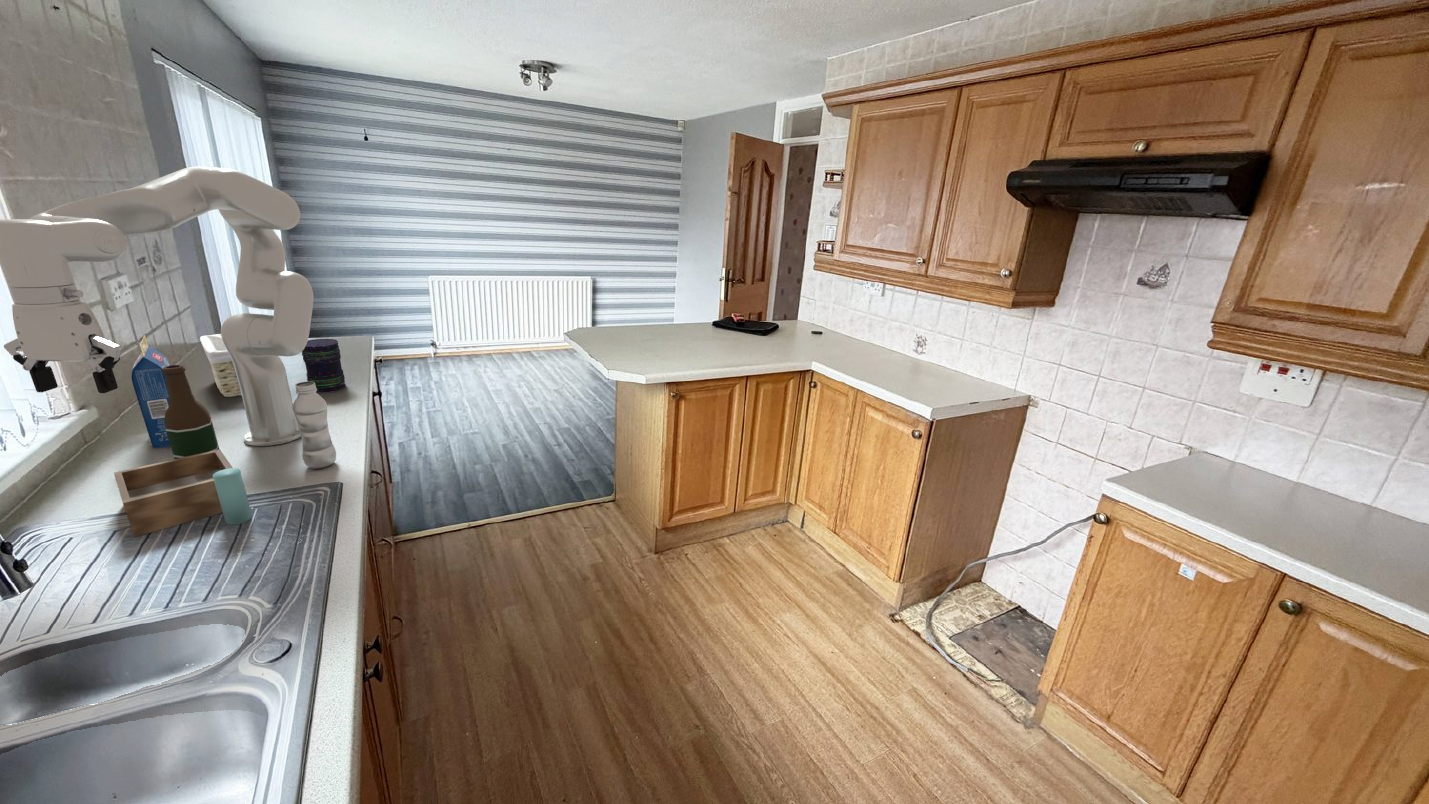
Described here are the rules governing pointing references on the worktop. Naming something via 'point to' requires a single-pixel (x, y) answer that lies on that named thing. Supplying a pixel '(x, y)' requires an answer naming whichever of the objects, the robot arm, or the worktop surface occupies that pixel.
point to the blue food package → (152, 392)
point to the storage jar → (324, 365)
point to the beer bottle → (186, 417)
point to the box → (171, 491)
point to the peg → (232, 496)
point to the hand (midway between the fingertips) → (78, 390)
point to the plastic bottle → (313, 426)
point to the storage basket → (221, 365)
